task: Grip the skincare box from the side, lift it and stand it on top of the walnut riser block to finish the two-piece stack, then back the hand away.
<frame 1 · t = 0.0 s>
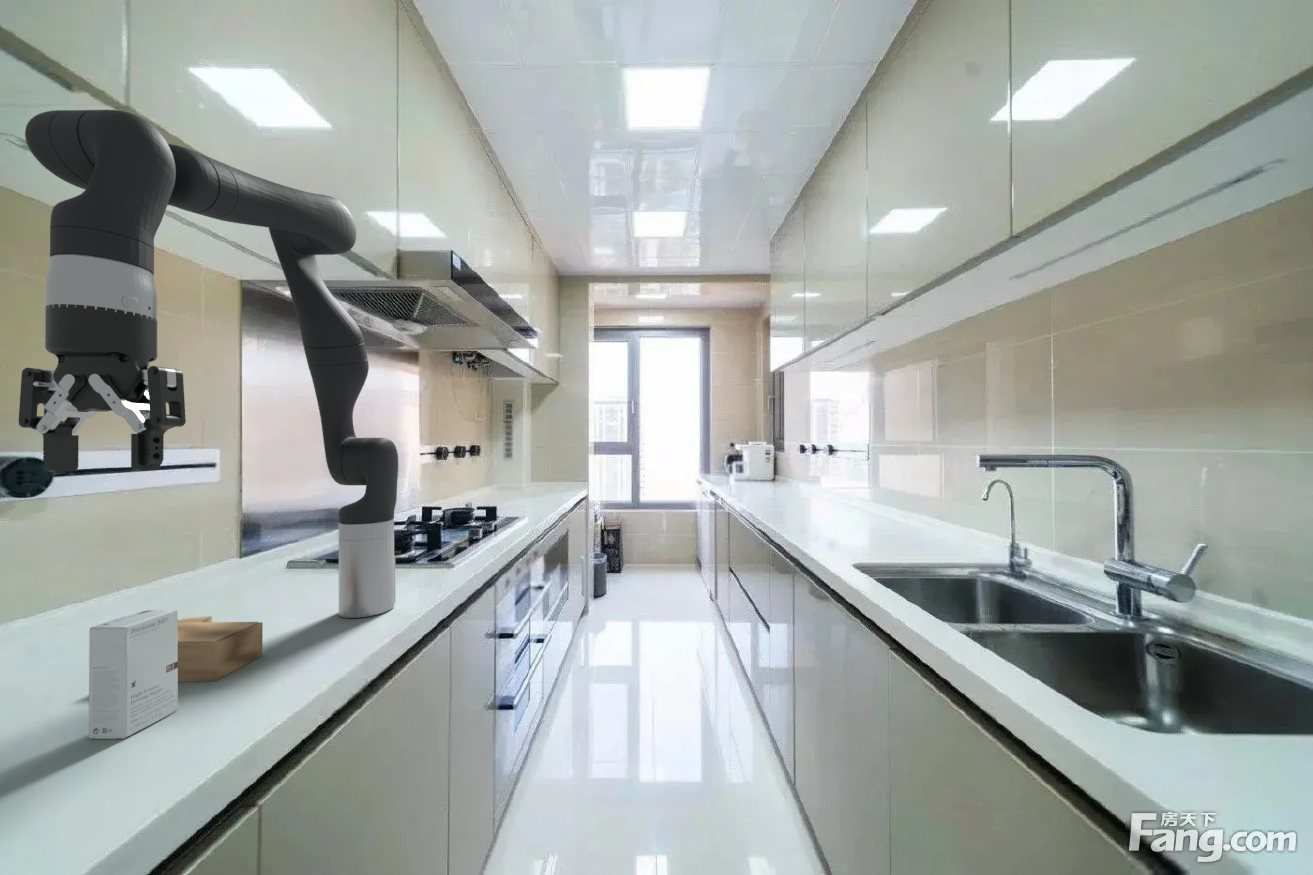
hand: (103, 471, 49), 29 cm above the counter, tool pointing down, fingers open, 8 cm apart
skincare box: (135, 725, 56), on the counter
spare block: (188, 646, 78), on the counter
riser: (198, 668, 70), on the counter
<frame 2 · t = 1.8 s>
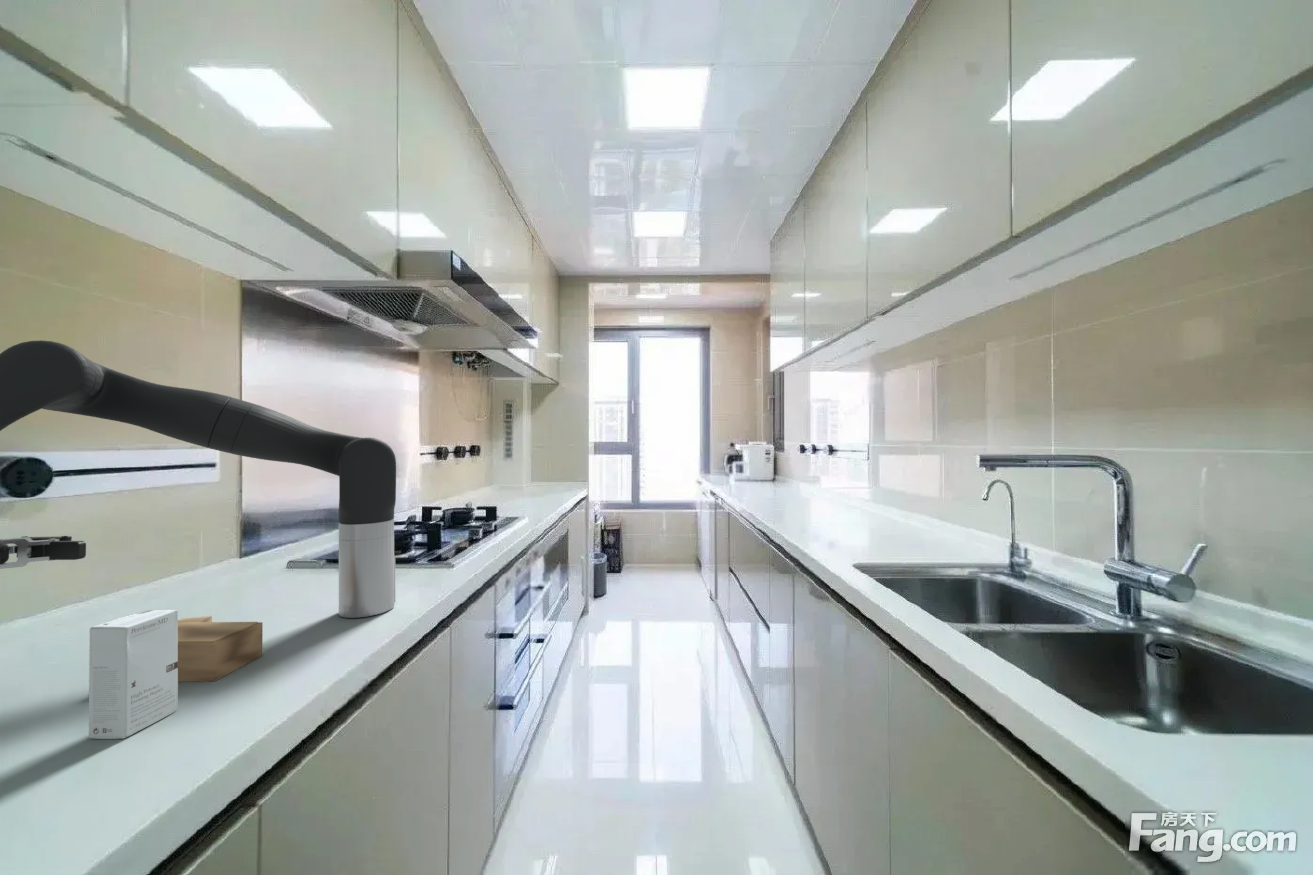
hand: (39, 558, 56), 19 cm above the counter, tool horizontal, fingers open, 8 cm apart
nothing on the counter moved.
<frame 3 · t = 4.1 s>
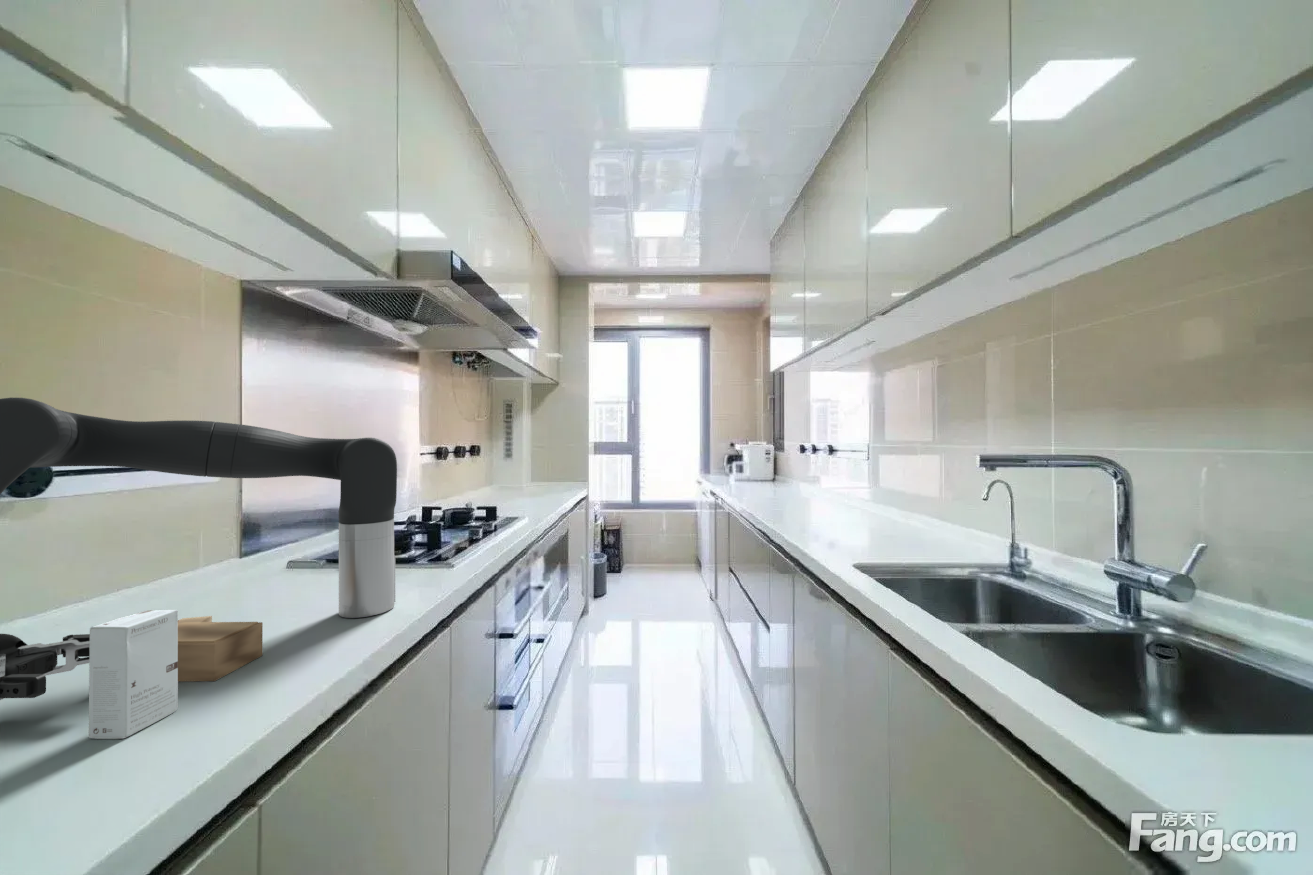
hand: (89, 667, 56), 6 cm above the counter, tool horizontal, fingers open, 8 cm apart
nothing on the counter moved.
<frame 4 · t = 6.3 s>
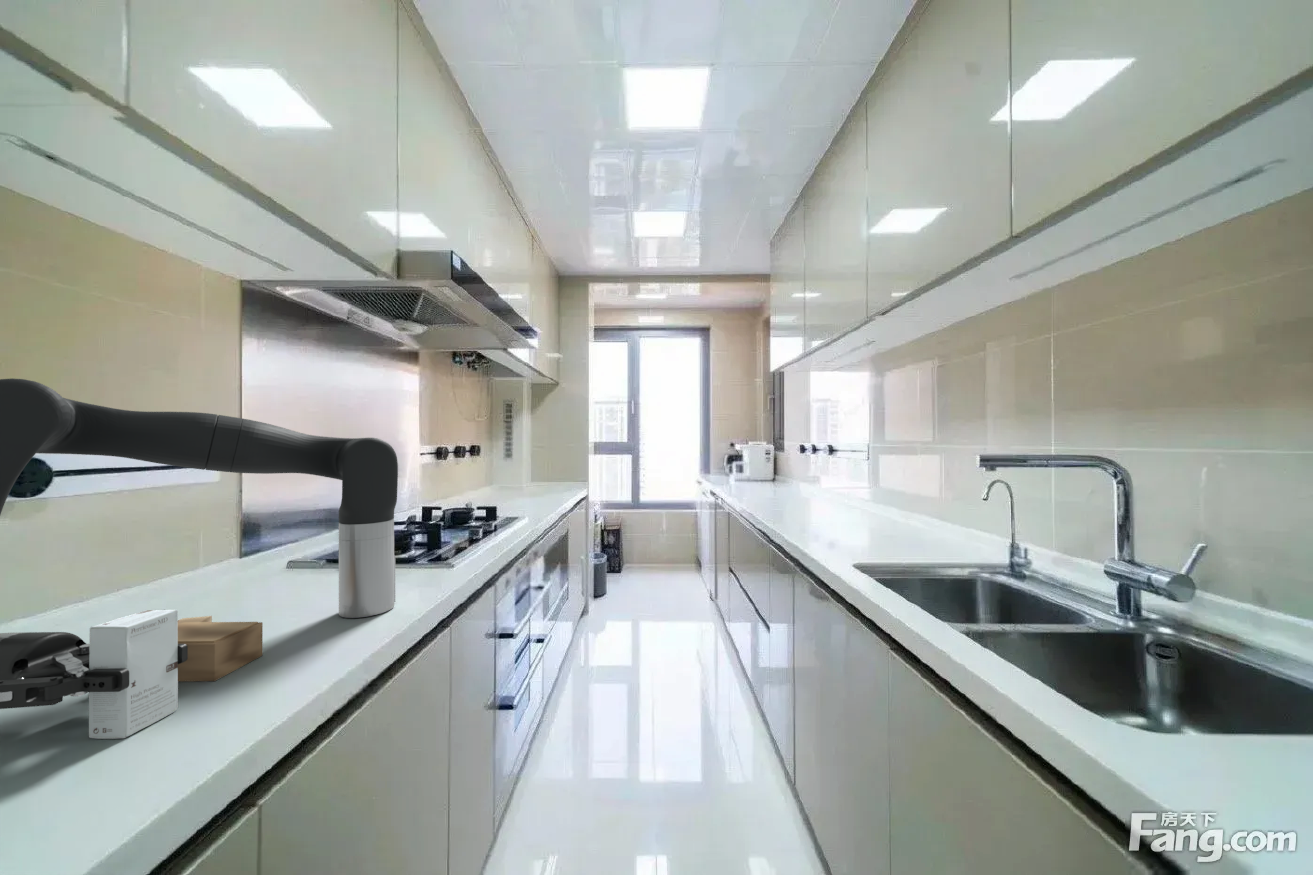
hand: (156, 666, 56), 7 cm above the counter, tool horizontal, fingers closed on skincare box, 6 cm apart
skincare box: (135, 725, 56), on the counter, touching gripper
everything else where it was.
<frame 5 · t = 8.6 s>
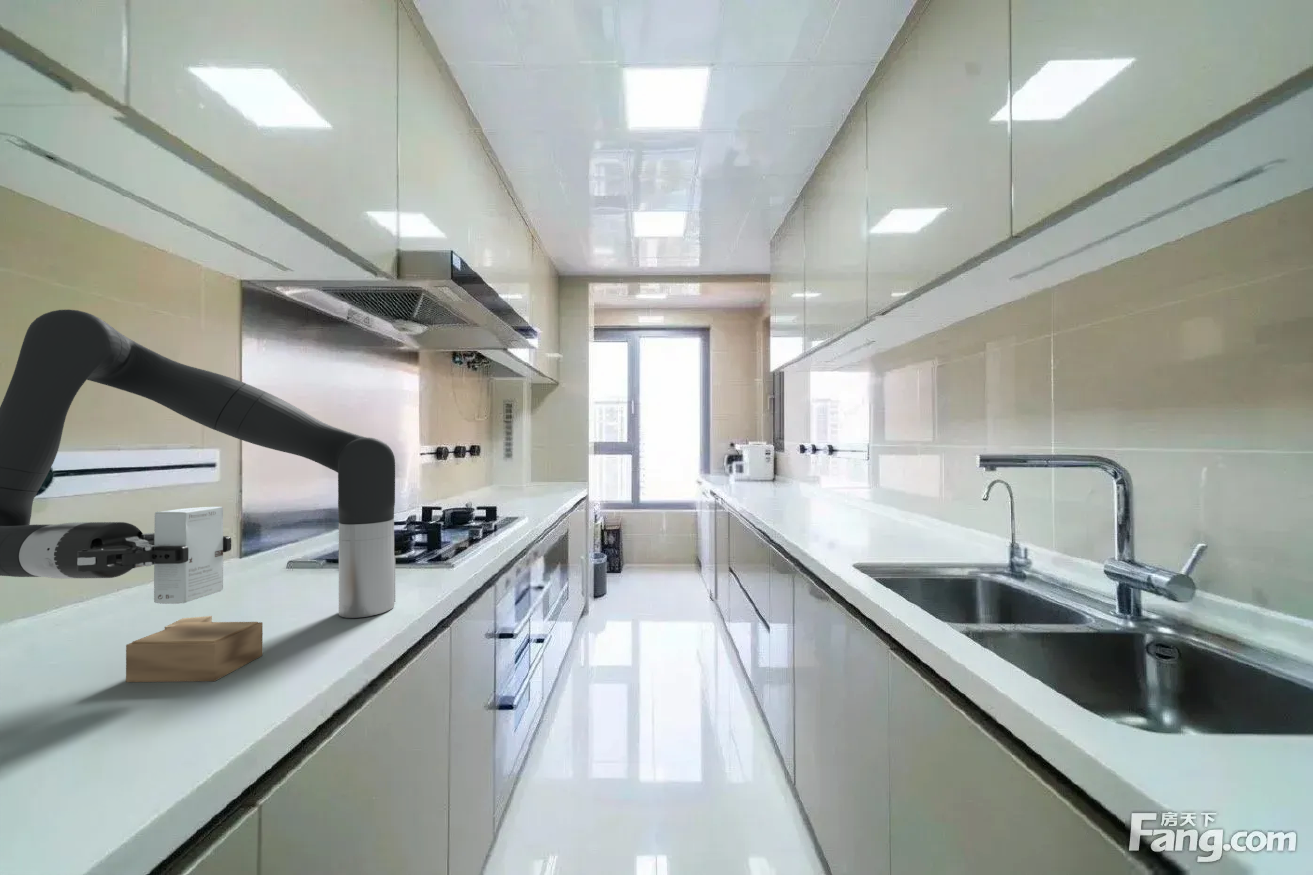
hand: (208, 549, 67), 18 cm above the counter, tool horizontal, fingers closed on skincare box, 6 cm apart
skincare box: (189, 598, 67), point 11 cm above the counter, touching gripper
everything else where it was.
when the fingers open (13 cm above the counter, at t = 10.7 s): skincare box stays where it is, resting on riser.
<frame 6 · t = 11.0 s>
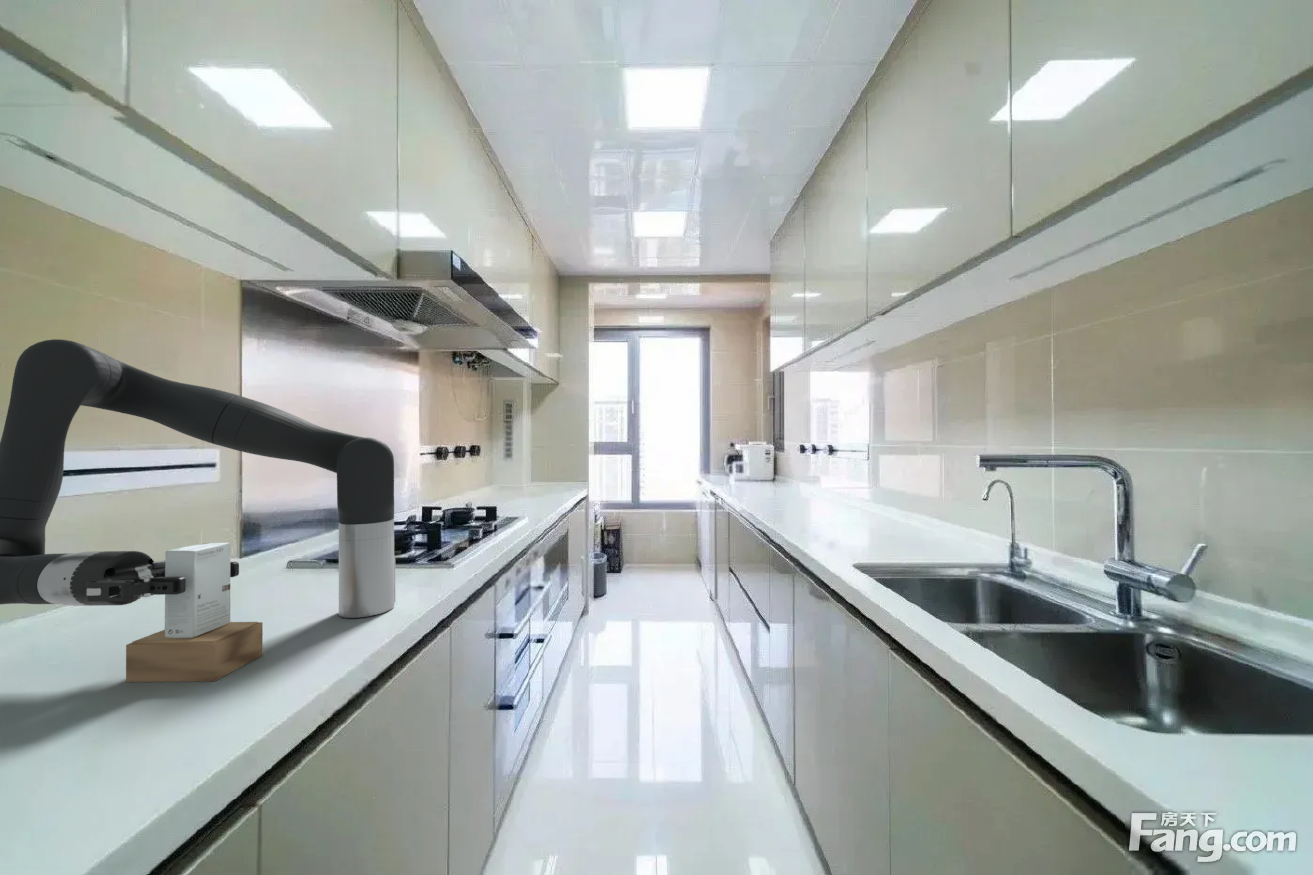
hand: (211, 576, 70), 13 cm above the counter, tool horizontal, fingers open, 8 cm apart
skincare box: (198, 631, 70), point 5 cm above the counter, touching riser
everything else where it was.
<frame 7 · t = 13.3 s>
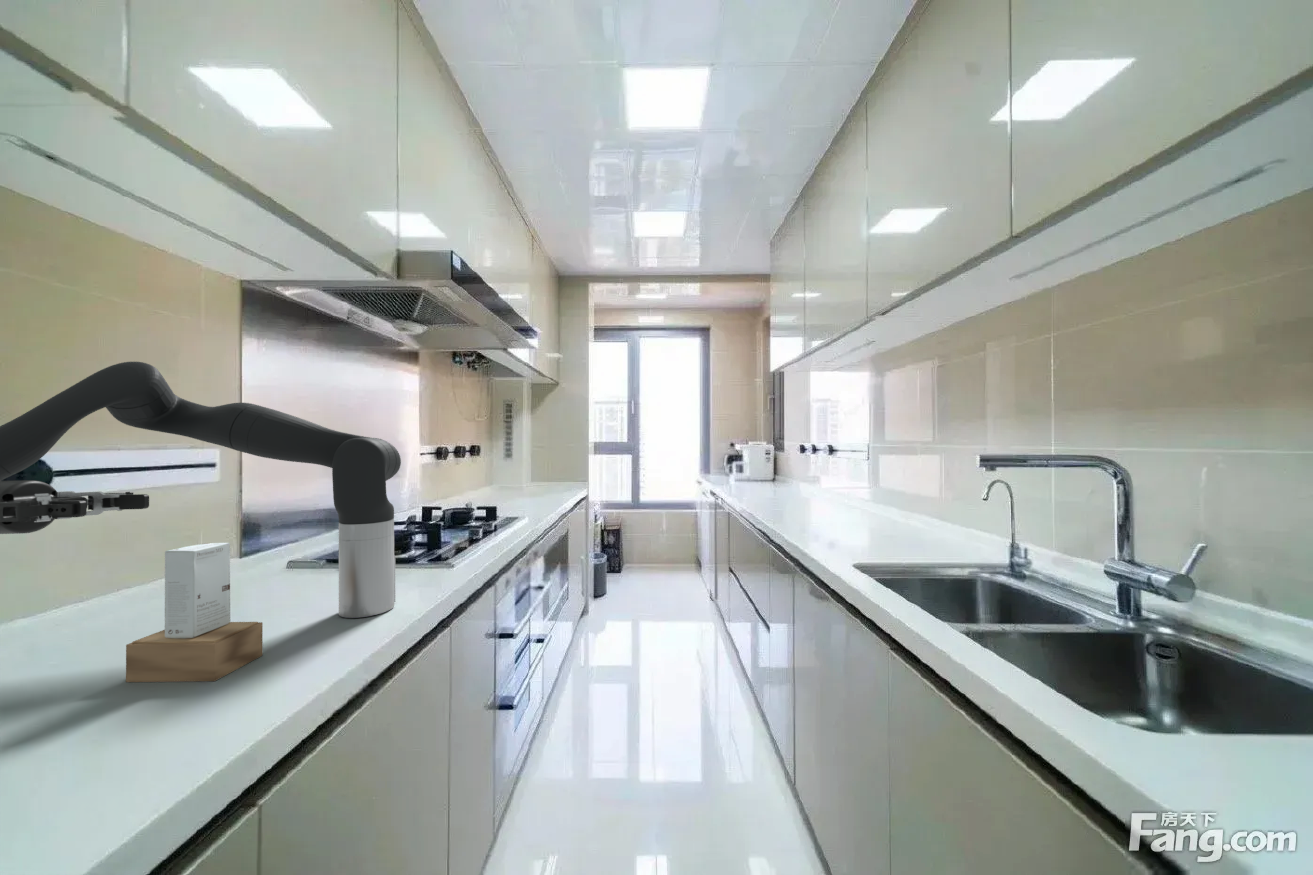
hand: (117, 504, 70), 24 cm above the counter, tool horizontal, fingers open, 8 cm apart
nothing on the counter moved.
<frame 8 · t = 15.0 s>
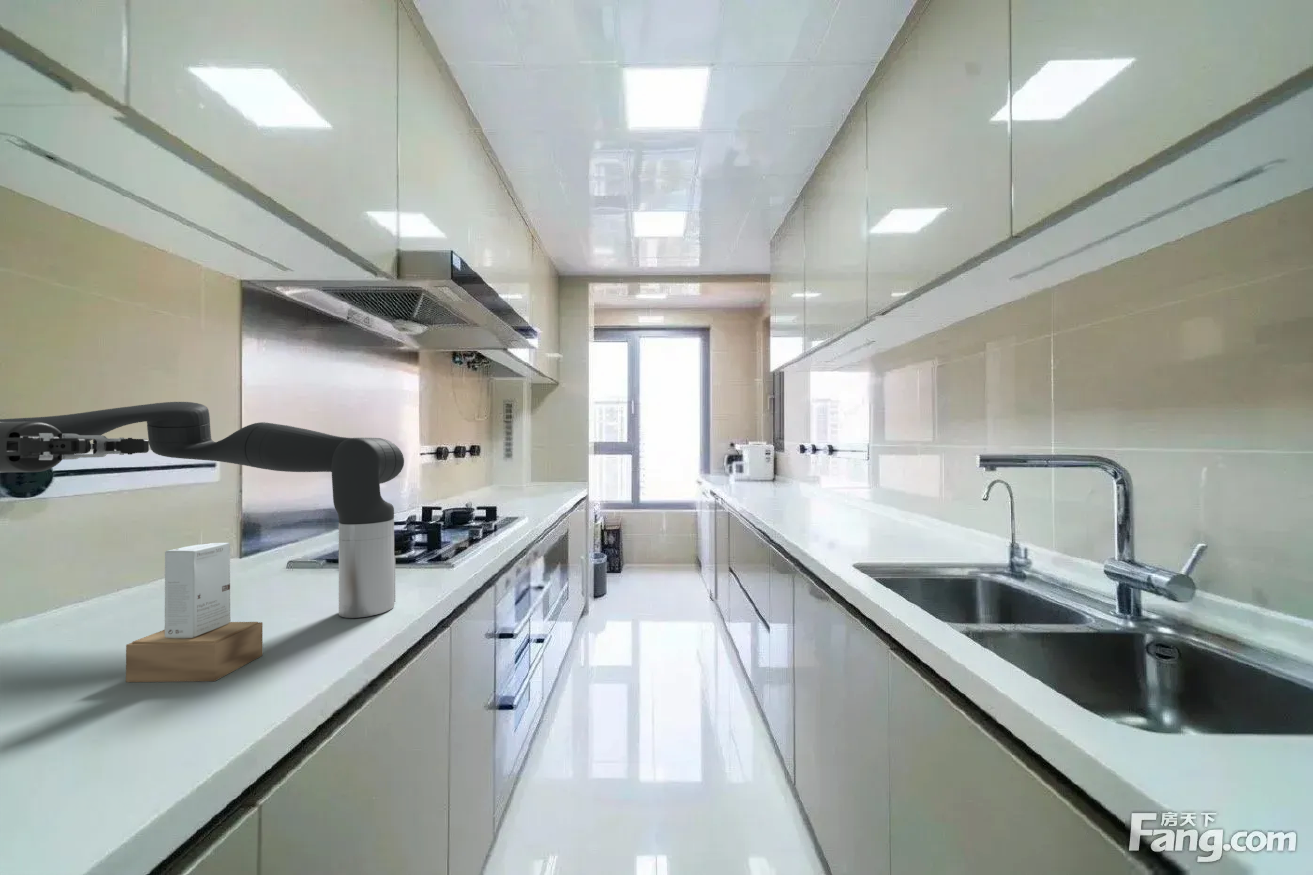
hand: (116, 445, 72), 32 cm above the counter, tool horizontal, fingers open, 8 cm apart
nothing on the counter moved.
at the end: skincare box inside the target area on the riser (0.4 cm from its centre), point 5.0 cm above the riser's base; skincare box tilted 0°; the gripper is holding nothing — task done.
